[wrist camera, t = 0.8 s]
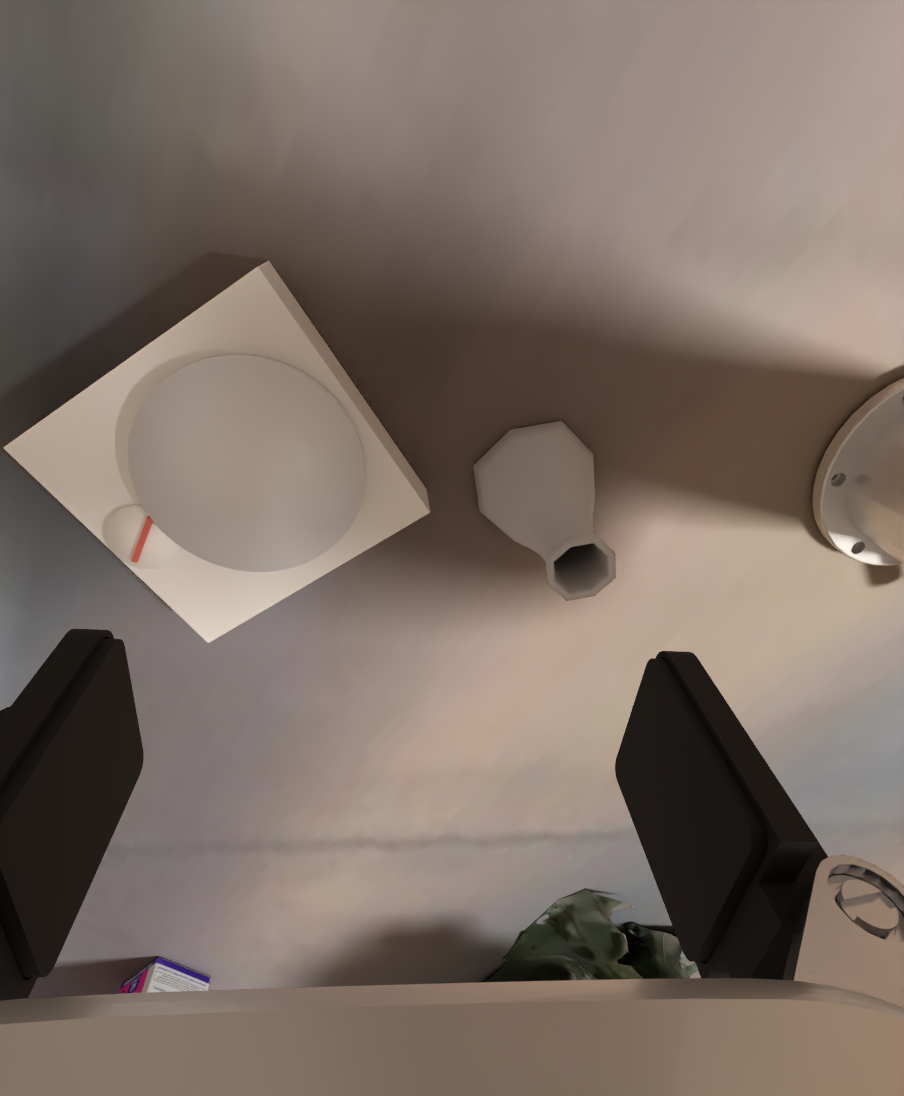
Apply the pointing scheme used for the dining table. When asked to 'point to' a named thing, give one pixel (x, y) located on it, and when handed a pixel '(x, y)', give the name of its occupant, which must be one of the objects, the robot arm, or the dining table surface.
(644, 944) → the rose bouquet
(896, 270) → the dining table surface
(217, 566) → the kitchen scale
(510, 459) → the flask
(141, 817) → the dining table surface
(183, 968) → the supplement box
